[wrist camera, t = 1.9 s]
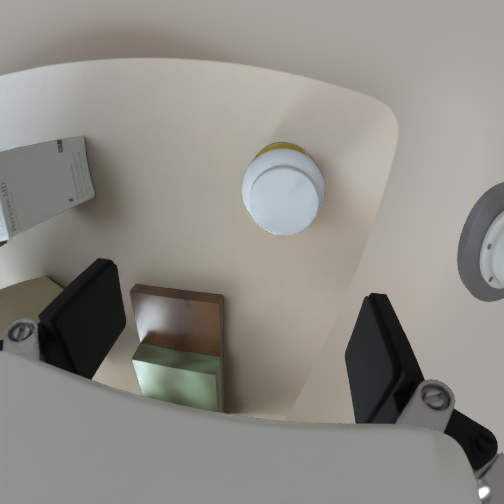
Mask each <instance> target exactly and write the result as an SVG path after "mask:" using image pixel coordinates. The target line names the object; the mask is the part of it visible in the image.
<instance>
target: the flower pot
mask: <svg viewBox="0 0 504 504" xmlns="http://www.w3.org/2000/svg"><path fill="white" fill-rule="evenodd" d="M63 290H64V289H63V288H62V287H60V286H59V285H57V284H56V283H55V282H53V281H52V280H50V279H49V278H48V277H40V278H35V279H31V280H27V281H24V282H20V283H17V284H14V285H11V286H8V287H6V288H3V289H1V290H0V340H3V339H4V334H5V330H6V329H7V327H8V326H9V325H10V324H11V323H13V322H14V321H16V320H19V319H23V318H29V319H32V320H34V321H35V322H36V323H37V324H38V323H39V322H40V320H39V317H38V315H39V314H40V313H41V312H42V311H43V310H44V309H45V308H46V307H47V306H48V305H49V304H50V303H51V302H52V301H53V300H54V299H55V298H56V297H57V296H58V295H59V294H60V293H61V292H62V291H63Z"/></svg>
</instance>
